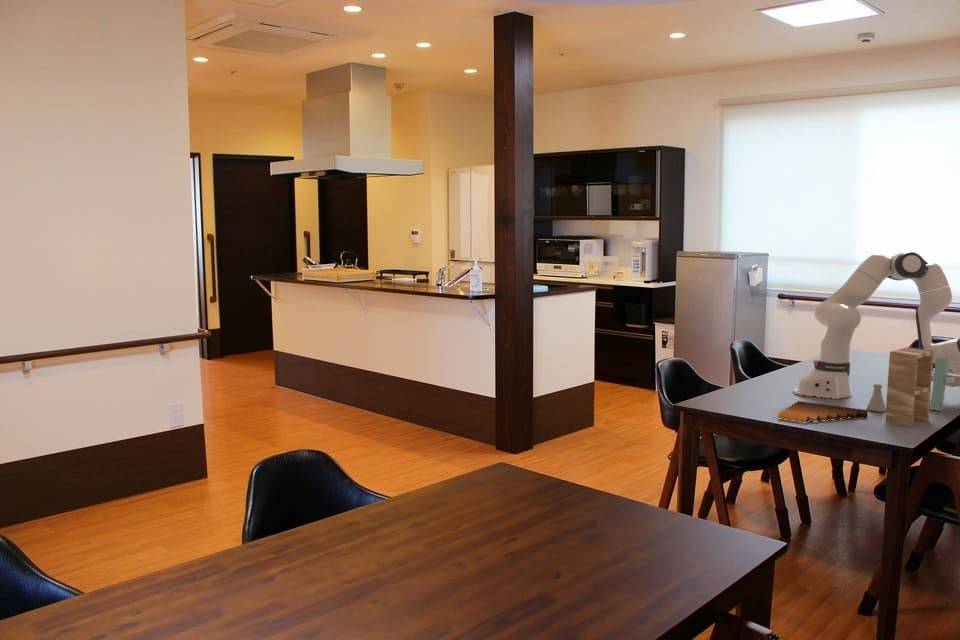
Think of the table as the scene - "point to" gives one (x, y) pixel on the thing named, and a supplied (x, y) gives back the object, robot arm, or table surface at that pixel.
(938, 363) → the mint green bar
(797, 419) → the pan flute
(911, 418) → the rack
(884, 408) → the flask
